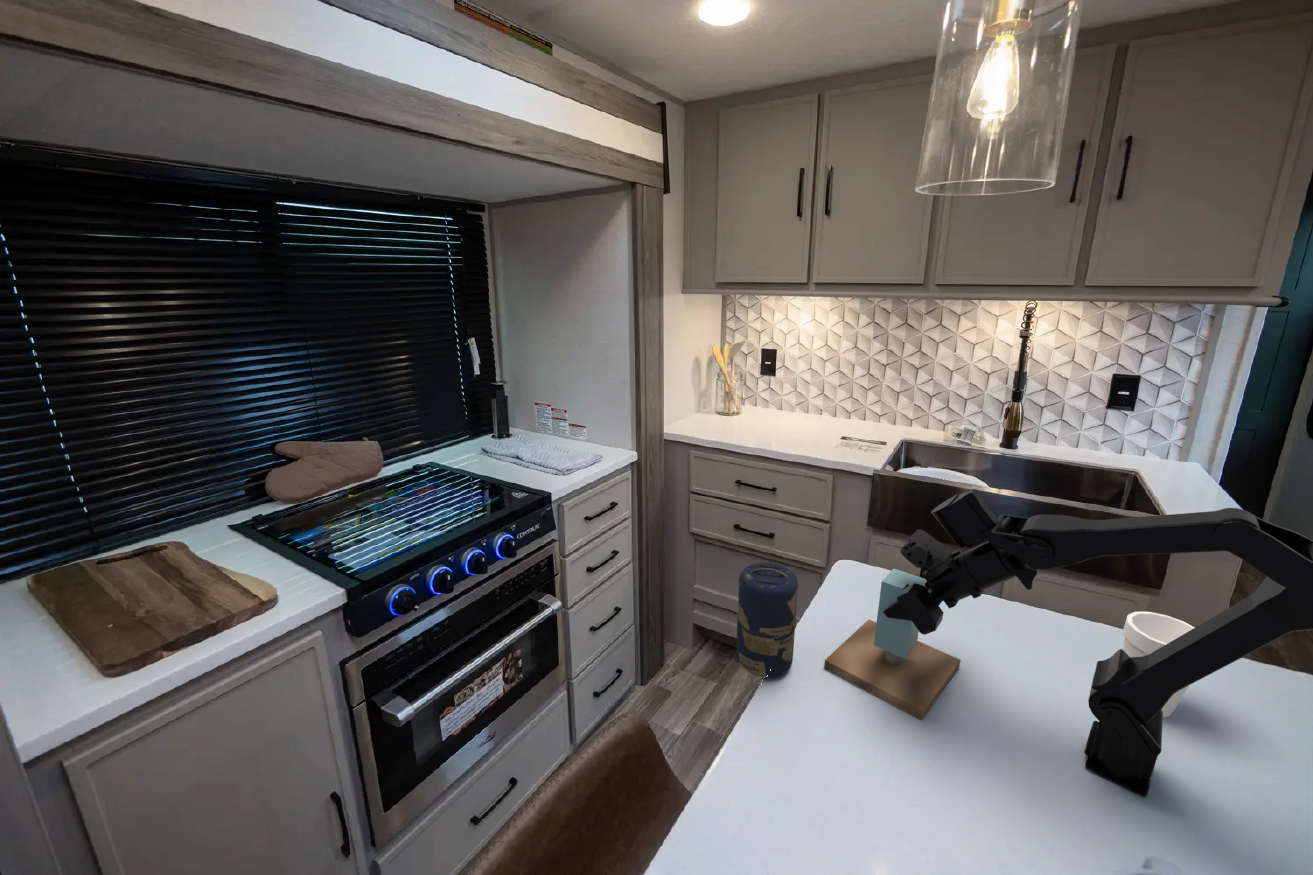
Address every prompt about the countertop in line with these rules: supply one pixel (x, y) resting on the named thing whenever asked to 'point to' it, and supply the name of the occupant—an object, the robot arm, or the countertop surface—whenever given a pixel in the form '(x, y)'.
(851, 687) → the countertop surface
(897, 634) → the tall sage green block
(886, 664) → the stand
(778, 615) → the canister
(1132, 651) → the foam cup
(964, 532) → the robot arm
